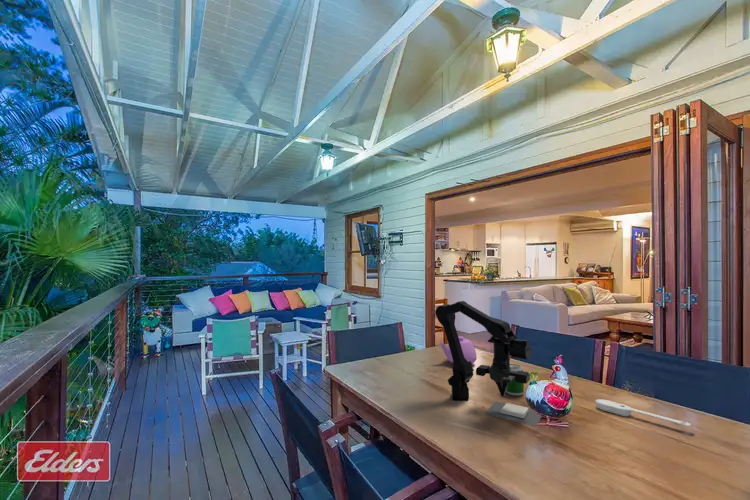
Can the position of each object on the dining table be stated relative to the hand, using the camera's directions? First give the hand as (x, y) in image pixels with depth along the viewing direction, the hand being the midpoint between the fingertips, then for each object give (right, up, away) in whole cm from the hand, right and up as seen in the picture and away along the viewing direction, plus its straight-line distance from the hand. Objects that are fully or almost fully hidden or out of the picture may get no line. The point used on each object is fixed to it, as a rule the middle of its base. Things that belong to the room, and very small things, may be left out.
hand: (502, 396), depth 134 cm
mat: (+3, -6, -2) cm, 7 cm away
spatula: (+46, -5, -8) cm, 47 cm away
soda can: (+11, -6, +17) cm, 21 cm away
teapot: (-3, -8, +63) cm, 63 cm away
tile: (0, -4, 0) cm, 4 cm away
